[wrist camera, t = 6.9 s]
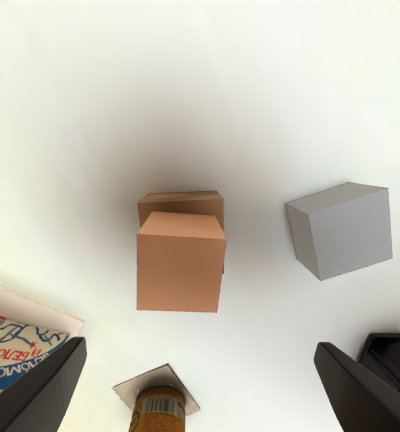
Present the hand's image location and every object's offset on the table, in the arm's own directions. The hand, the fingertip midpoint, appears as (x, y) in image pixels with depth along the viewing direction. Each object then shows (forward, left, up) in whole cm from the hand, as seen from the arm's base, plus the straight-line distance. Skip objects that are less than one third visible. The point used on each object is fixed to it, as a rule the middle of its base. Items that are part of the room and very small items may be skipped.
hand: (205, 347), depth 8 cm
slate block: (-12, -2, -12) cm, 17 cm away
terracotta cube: (+1, -1, -8) cm, 8 cm away
